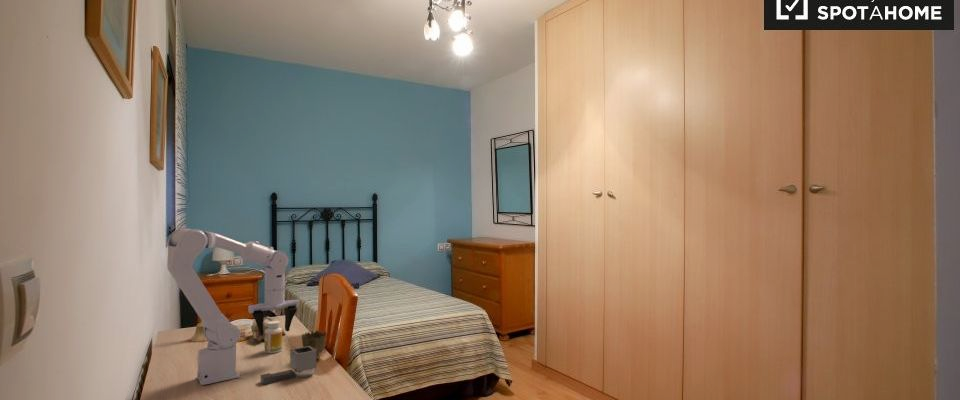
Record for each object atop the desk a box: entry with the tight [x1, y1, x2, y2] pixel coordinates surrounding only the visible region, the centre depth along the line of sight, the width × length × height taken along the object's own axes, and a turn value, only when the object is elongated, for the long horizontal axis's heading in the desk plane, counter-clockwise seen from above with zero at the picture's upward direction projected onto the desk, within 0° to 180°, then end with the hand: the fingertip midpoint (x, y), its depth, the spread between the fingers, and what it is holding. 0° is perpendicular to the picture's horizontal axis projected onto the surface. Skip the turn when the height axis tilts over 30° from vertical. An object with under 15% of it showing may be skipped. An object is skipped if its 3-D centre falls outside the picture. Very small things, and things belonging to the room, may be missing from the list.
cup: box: [301, 330, 327, 361], centre depth 147 cm, size 8×7×8 cm
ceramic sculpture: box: [250, 314, 286, 342], centre depth 168 cm, size 11×9×15 cm
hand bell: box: [189, 319, 209, 343], centre depth 167 cm, size 8×8×16 cm
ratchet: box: [260, 368, 315, 386], centre depth 131 cm, size 14×6×5 cm, turn 129°
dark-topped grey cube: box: [289, 346, 317, 372], centre depth 134 cm, size 6×6×5 cm
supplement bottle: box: [264, 320, 283, 354], centre depth 154 cm, size 5×5×10 cm
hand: (274, 332), depth 143 cm, fingers open, 7 cm apart
